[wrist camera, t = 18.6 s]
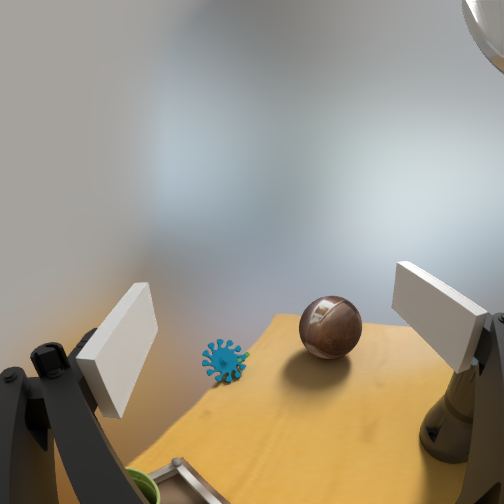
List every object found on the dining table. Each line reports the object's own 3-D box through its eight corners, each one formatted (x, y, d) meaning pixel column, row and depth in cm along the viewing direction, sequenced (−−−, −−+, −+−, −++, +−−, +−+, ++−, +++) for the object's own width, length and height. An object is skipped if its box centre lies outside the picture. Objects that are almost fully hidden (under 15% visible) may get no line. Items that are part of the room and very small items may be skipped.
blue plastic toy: (208, 384, 55) (199, 340, 60) (202, 387, 59) (194, 347, 64) (256, 376, 59) (246, 335, 64) (247, 380, 64) (238, 341, 69)
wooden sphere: (287, 360, 65) (287, 305, 61) (313, 332, 76) (316, 282, 73) (345, 378, 56) (354, 319, 52) (364, 344, 68) (372, 292, 64)
